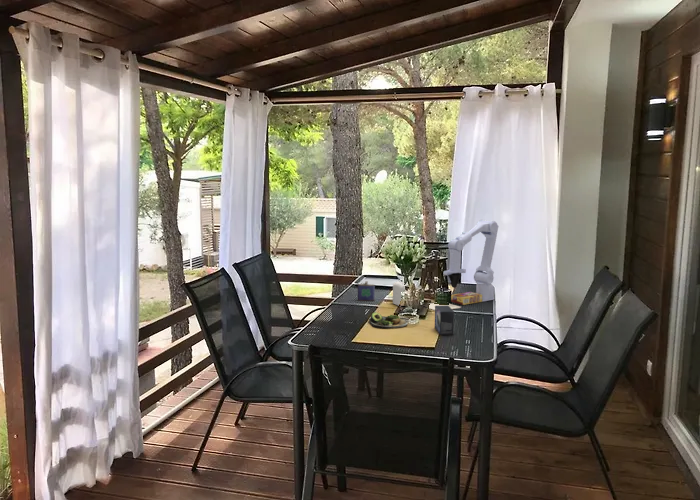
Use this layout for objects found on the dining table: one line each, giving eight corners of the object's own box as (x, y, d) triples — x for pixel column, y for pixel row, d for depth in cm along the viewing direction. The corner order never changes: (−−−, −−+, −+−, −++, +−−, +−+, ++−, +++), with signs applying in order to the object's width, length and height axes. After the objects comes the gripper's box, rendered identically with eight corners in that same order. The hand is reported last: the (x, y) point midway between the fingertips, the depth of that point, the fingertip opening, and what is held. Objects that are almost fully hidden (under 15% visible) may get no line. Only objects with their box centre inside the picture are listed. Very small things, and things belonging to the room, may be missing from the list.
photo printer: (391, 303, 289) (392, 280, 287) (398, 302, 291) (398, 280, 289) (401, 307, 280) (402, 284, 278) (408, 307, 282) (409, 283, 280)
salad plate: (403, 317, 261) (404, 308, 261) (416, 328, 244) (416, 318, 243) (365, 319, 257) (365, 310, 256) (375, 330, 240) (375, 320, 239)
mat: (442, 302, 293) (442, 301, 293) (461, 307, 282) (461, 306, 281) (420, 305, 284) (420, 305, 284) (438, 311, 273) (438, 310, 273)
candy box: (462, 305, 287) (482, 301, 295) (463, 298, 286) (482, 294, 294) (450, 302, 294) (470, 298, 302) (450, 294, 293) (470, 291, 302)
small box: (433, 327, 244) (434, 305, 242) (447, 327, 245) (448, 305, 243) (439, 334, 234) (440, 311, 232) (453, 334, 234) (454, 311, 233)
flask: (374, 300, 296) (374, 280, 294) (374, 301, 293) (374, 281, 292) (357, 299, 296) (357, 280, 295) (357, 300, 294) (357, 281, 292)
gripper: (459, 259, 292) (458, 284, 294) (439, 262, 284) (438, 287, 286) (469, 261, 286) (467, 286, 288) (449, 263, 278) (448, 289, 280)
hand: (454, 287), depth 287 cm, fingers closed
